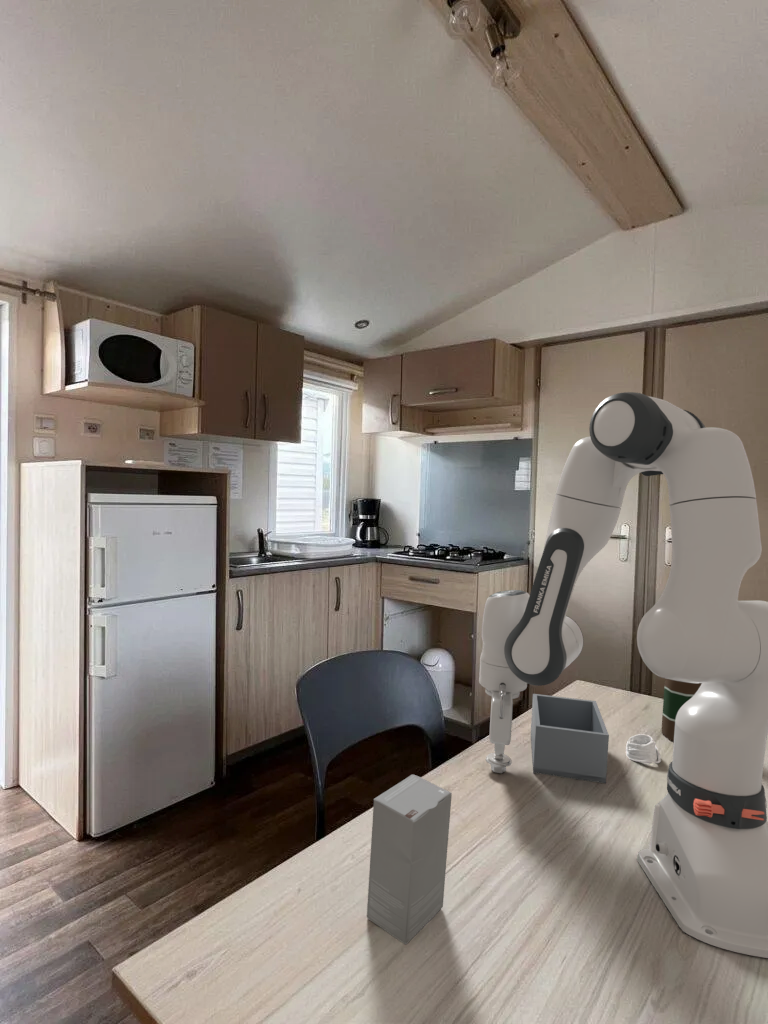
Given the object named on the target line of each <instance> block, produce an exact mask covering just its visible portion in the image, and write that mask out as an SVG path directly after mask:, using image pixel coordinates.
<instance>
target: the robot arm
mask: <svg viewBox="0 0 768 1024" xmlns="http://www.w3.org/2000/svg"><path fill="white" fill-rule="evenodd" d="M588 428H589V436H586V437H582V438H580V439H579V440H577V441H576V442H575V443H574V444H573V446H572V448H571V449H570V451H569V454H568V456H567V458H566V461H565V463H564V466H563V468H562V470H561V473H560V477H559V480H558V483H557V487H556V491H555V494H554V498H553V502H552V506H551V512H550V516H549V517H550V518H549V523H548V528H547V534H546V537H545V541H544V547H543V552H542V555H541V557H540V560H539V564H538V567H537V570H536V573H535V576H534V580H533V584H532V587H531V589H530V593H529V592H527V591H525V590H522V589H521V590H520V589H510V590H509V589H508V590H503V591H497V592H494V593H492V594H490V595H489V596H488V597H487V599H486V600H485V604H484V607H483V608H484V609H483V614H482V620H481V621H482V623H481V634H480V635H481V639H482V650H481V653H480V656H479V657H480V658H479V675H478V677H479V678H478V683H479V685H481V687H483V688H485V689H484V690H485V691H484V692H485V694H487V696H490V697H491V701H490V702H491V704H490V718H489V719H490V720H489V721H490V722H489V742H490V743H491V744H493V745H494V744H495V745H494V747H495V748H494V750H493V751H494V753H495V752H496V753H499V754H503V753H504V754H505V749H506V748H505V746H510V744H511V741H512V725H513V722H512V721H513V699H514V700H515V699H517V698H519V697H520V692H523V691H525V690H526V689H527V687H528V685H531V686H537V687H538V686H540V687H541V686H548V685H550V684H552V683H554V682H555V681H556V680H557V679H558V678H559V677H560V676H561V674H562V673H563V671H564V670H565V669H567V668H568V667H569V666H570V665H571V664H572V663H573V662H574V661H575V660H576V659H577V658H579V656H580V655H581V653H582V651H583V648H584V644H585V643H584V642H585V640H584V635H583V634H584V633H583V632H582V628H580V625H579V624H578V623H577V622H576V620H575V619H573V618H571V617H570V616H569V615H567V613H568V610H569V606H570V603H571V599H572V596H573V593H574V589H575V587H576V583H577V580H578V579H579V577H580V575H581V573H582V572H583V570H584V569H585V567H586V566H587V565H588V563H589V562H590V561H591V560H592V559H593V558H594V557H595V556H596V555H597V554H598V553H600V552H601V550H603V549H604V548H605V547H606V546H607V544H608V543H609V541H610V538H611V537H612V534H613V533H614V530H615V529H616V528H615V527H616V526H617V522H618V521H619V517H620V514H621V510H622V507H623V506H622V505H623V502H624V497H625V493H626V490H627V487H628V485H629V483H630V481H631V480H632V479H633V478H634V477H635V476H636V475H638V474H641V475H643V476H644V477H650V476H651V477H652V476H659V475H664V478H665V481H666V483H667V490H668V491H667V492H668V502H669V503H668V504H669V505H668V506H669V516H670V519H669V520H670V531H671V533H670V534H671V550H672V551H671V562H670V564H671V565H670V567H669V568H670V569H669V573H668V574H669V575H668V576H667V577H668V578H667V580H666V584H665V586H664V588H663V591H662V592H661V595H660V597H659V598H658V599H657V600H656V603H655V604H653V606H652V607H651V608H650V609H649V610H647V612H645V614H644V615H643V616H642V617H641V620H640V622H639V625H638V628H637V632H636V645H637V649H638V652H639V655H640V657H641V659H642V661H643V662H644V664H645V666H646V667H647V668H648V669H649V671H651V673H653V674H654V675H656V676H658V677H659V678H662V679H665V680H666V679H671V680H675V681H681V682H687V683H702V684H701V686H700V687H699V689H698V691H697V692H696V693H695V694H694V696H693V697H692V698H691V699H689V700H688V701H687V702H686V703H684V704H683V705H682V707H681V708H680V709H679V711H678V713H677V715H676V719H675V731H674V741H673V746H672V747H673V750H672V761H671V762H670V763H669V765H668V770H667V772H666V790H667V793H666V794H665V796H664V797H663V798H662V799H661V800H660V801H659V802H657V803H656V804H655V806H654V809H653V815H652V823H651V824H652V825H651V831H650V839H649V840H650V841H649V847H647V848H643V849H641V850H639V851H637V857H636V860H637V862H638V864H639V866H641V869H642V870H643V872H644V873H645V875H646V876H647V878H648V880H649V881H650V883H651V885H652V886H653V887H654V889H655V890H656V892H657V894H658V895H659V898H661V900H662V901H663V904H664V905H665V906H666V908H667V909H668V911H669V913H670V915H671V916H672V918H673V919H674V921H675V922H676V923H677V925H678V926H679V928H680V929H681V930H682V932H683V933H685V934H687V935H689V936H690V937H692V938H694V939H695V940H696V939H697V940H698V941H701V942H703V943H705V944H708V945H711V946H714V947H716V948H719V949H723V950H727V951H730V952H734V953H738V954H743V955H749V956H753V957H759V958H764V959H765V958H766V959H768V820H767V819H768V816H767V807H768V805H767V798H766V791H765V790H766V789H765V787H764V785H763V773H764V763H765V756H766V755H765V753H766V747H767V745H766V744H767V738H768V601H765V600H761V599H760V600H759V599H757V600H756V599H755V600H739V593H740V587H741V583H742V581H743V578H744V576H745V575H746V573H747V572H748V570H750V568H752V567H753V566H755V564H756V563H758V561H759V560H760V558H761V556H762V549H763V547H762V541H761V540H762V539H761V530H760V519H759V511H758V510H759V509H758V503H757V495H756V494H757V493H756V487H755V482H754V481H755V480H754V477H753V473H752V467H751V465H750V461H749V458H748V455H747V452H746V449H745V447H744V443H743V441H742V439H741V438H740V436H738V435H737V434H736V433H735V432H733V431H731V430H729V429H726V428H721V427H711V426H710V427H707V426H706V425H705V424H704V422H703V421H702V420H701V419H700V418H699V417H698V416H696V415H695V414H694V413H693V412H690V411H689V410H686V409H682V408H681V407H678V406H677V405H675V404H673V403H672V402H669V401H667V400H665V399H661V398H659V397H654V396H651V395H650V396H649V395H646V394H644V393H641V392H632V391H631V392H630V391H627V392H626V391H625V392H619V393H614V394H612V395H609V396H608V397H606V398H605V399H603V400H602V401H601V402H600V403H599V404H598V406H597V407H596V408H595V409H594V411H593V413H592V415H591V418H590V421H589V427H588ZM500 718H501V719H500ZM502 718H503V719H502Z"/></svg>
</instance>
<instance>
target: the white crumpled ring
mask: <svg viewBox="0 0 768 1024" xmlns="http://www.w3.org/2000/svg"><path fill="white" fill-rule="evenodd" d="M656 744H657V743H656V742H655V739H653V737H652V736H651V735H648V734H644V733H639V734H638V733H637V734H635V735H632V736H630V737H629V738H628V740H627V742H626V745H625V755H626V757H627V758H628V759H629V760H630V761H633V762H637V763H646V764H653V763H654V764H660V763H661V761H662V759H661V758H662V757H661V753H660V750H659V748H658V746H657V745H656Z"/></svg>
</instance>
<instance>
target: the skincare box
mask: <svg viewBox="0 0 768 1024" xmlns="http://www.w3.org/2000/svg"><path fill="white" fill-rule="evenodd" d="M452 795H453V794H452V792H451V791H449V790H446V789H444V788H443V787H441V786H438V785H436V784H434V783H432V782H431V781H428V780H427V779H424V778H423V777H421V776H418V775H415V774H414V773H413V774H410V775H409V776H407V777H406V778H405V779H403V780H401V781H399V782H398V783H397V784H395V785H393V786H392V787H390V788H389V789H387V790H386V791H384V792H382V793H381V794H379V795H378V796H376V797H375V798H373V809H372V811H373V812H372V823H371V824H372V826H371V842H370V857H369V874H368V888H367V903H366V904H367V905H366V906H367V907H366V918H367V919H368V920H369V921H371V922H372V923H374V924H375V925H377V926H378V927H379V928H381V929H382V930H384V931H385V932H387V933H388V934H389V935H391V936H392V937H393V938H395V939H397V940H398V941H399V942H401V943H402V944H404V945H407V944H408V943H409V942H410V941H411V940H412V939H413V938H414V937H415V936H416V935H417V934H419V932H420V931H421V930H422V929H423V928H424V927H425V926H426V925H427V924H428V923H429V922H430V921H431V920H432V919H433V918H434V917H435V916H436V915H437V913H439V911H440V910H441V909H443V907H444V896H445V895H444V894H445V885H446V883H445V881H446V874H447V873H446V871H447V857H448V856H447V855H448V847H449V832H450V822H451V820H450V819H451V810H452V809H451V807H452Z"/></svg>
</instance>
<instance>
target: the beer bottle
mask: <svg viewBox="0 0 768 1024" xmlns="http://www.w3.org/2000/svg"><path fill="white" fill-rule="evenodd" d="M701 684H702V683H687V682H681V681H675V680H671V679H666V678H665V680H664V686H663V688H664V689H663V699H662V700H663V701H662V702H663V704H662V718H661V734H662V735H663V736H664V737H665V738H666V739H667V740H669V741H670V742H671V741H672V742H674V731H675V719H676V715H677V713H678V711H679V709H680V708H681V707H682V705H683V704H684V703H686V702H687V701H688V700H689V699H691V698H692V697H693V696H694V694H695V693H696V692H697V691H698V689H699V687H700V686H701Z"/></svg>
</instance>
